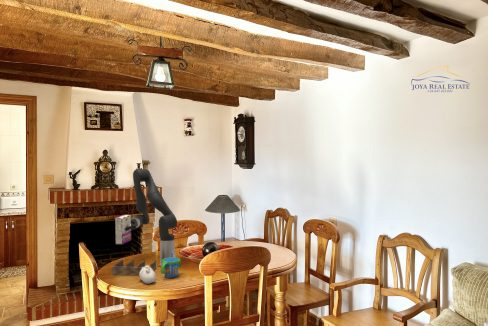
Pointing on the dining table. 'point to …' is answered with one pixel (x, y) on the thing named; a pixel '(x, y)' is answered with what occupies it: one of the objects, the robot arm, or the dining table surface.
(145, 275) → the white spotted figurine
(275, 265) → the dining table surface
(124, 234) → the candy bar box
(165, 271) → the snack cup
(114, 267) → the walnut rack
